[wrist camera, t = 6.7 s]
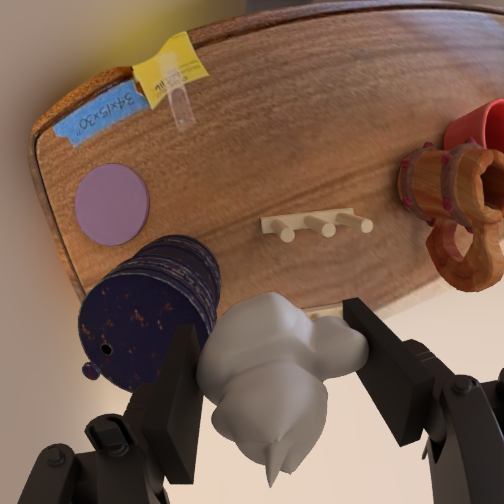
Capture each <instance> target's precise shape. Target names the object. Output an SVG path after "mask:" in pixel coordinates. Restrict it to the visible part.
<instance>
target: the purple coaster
mask: <svg viewBox="0 0 504 504" xmlns="http://www.w3.org/2000/svg"><path fill="white" fill-rule="evenodd" d="M148 213H149V195H148V191H147V188H146V185H145V183H144V182H143V180H142V179H141V177H140V176H139V175H138V174H137V173H136V172H135V171H134V170H132V169H131V168H129V167H127V166H124V165H120V164H104V165H100V166H98V167H96V168H94V169H93V170H91V171H90V172H89V173H88V174H87V175H86V176H85V177H84V178H83V179H82V181H81V183H80V184H79V186H78V189H77V192H76V196H75V214H76V218H77V221H78V224H79V226H80V227H81V229H82V231H83V232H84V233H85V234H86V235H87V236H88V237H89V238H90V239H91V240H93V241H94V242H96V243H99V244H101V245H105V246H116V245H121V244H123V243H125V242H127V241H129V240H131V239H132V238H134V237H135V236H136V235H137V234H138V233H139V232H140V231H141V229H142V228H143V226H144V224H145V222H146V220H147V217H148Z"/></svg>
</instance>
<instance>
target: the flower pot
mask: <svg viewBox="0 0 504 504" xmlns="http://www.w3.org/2000/svg"><path fill="white" fill-rule="evenodd" d="M468 137H471V138H473V139H474V140H475V142H476V144H479V145H480V146H482V147H483V148H484V149H491V150H497V151H499V152H502V153H503V154H504V99H496V100H493V101H491V102H489V103H487V104H485V105H483V106H481V107H479V108H477V109H475V110H474V111H472V112H470V113H468V114H467V115H465V116H463V117H461V118H460V119H458V120H456V121H454V122H453V123H451V124H450V125H449V126H448V128H447V130H446V132H445V135H444V150H451V149H452V148H454V147H455V146H457V145H460V144H464V142H465V141H466V139H467V138H468Z"/></svg>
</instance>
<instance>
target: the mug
mask: <svg viewBox="0 0 504 504" xmlns="http://www.w3.org/2000/svg"><path fill="white" fill-rule="evenodd" d="M401 164H402V165H401V167H400V172H399V176H398V182H397V184H398V192H399V196H400V198H401V200H402V204H403V205H404V206H405V207H406V208H407V209H408V210H409V212H410V213H411V214H412V215H413V216H415V217H417V218H419V219H422V220H424V221H426V222H427V224H428V225H429V226H431V227H434V228H433V230H432V232H431V234H430V235H429V237H428V238H427V241H426V246H427V249H428V251H429V253H430V256H431V258H432V261H433V263H434V264H435V267H436V269H437V271H438V272H439V274H440V275H441V276H442V277H443V278H444V279H445V281H446V282H448V283H449V284H450V285H451V286H453V287H455V288H456V289H457V290H460V291H464V292H475V291H476V292H479V291H482V290H484V289H486V288H489V287H491V286H493V285H494V284H496V283H497V282H498V281H500V280H501V278H502V276H503V274H504V256H503V253H502V251H501V248H500V245H499V240H498V230H499V222H500V221H501V219H502V217H503V218H504V154H503V153H502V152H499V151H497V150H491V149H484V148H483V147H482V146H480V145H479V144H476V142H475V140H474V139H473V138H471V137H468V138H467V139H466V141H465V142H464V144H460V145H457V146H455V147H454V148H452V149H451V150H443V151H441V150H439V149H437V148H435V147H434V146H433V144H432V143H430V142H426V143H425V144H424V147H423V148H421V149H418V150H416V151H414V152H412V153H411V154H410V155H409V156H408V157H407V158H404V159H403V160H402V162H401ZM457 223H458V224H460V225H462V226H464V227H465V228H466V230H467V231H468V232H469V233H472V234H473V243H472V244H471V246H470V248H469V250H468V252H467V253H466V255H465V257H463V256H462V255H461V254H460V252H459V251H458V249H457V247H456V245H455V237H454V234H455V231H456V226H457Z"/></svg>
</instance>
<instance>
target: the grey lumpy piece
mask: <svg viewBox="0 0 504 504" xmlns="http://www.w3.org/2000/svg"><path fill="white" fill-rule="evenodd" d="M368 357H369V345H368V342H367V339H366V338H365V337H364V336H363V335H362V334H361V333H359V332H358V331H356V330H354V329H351V328H350V327H349V325H348V324H347V323H346V322H345V321H344V320H343V319H341V318H340V317H337V316H331V315H330V316H324V317H320V318H318V319H316V320H314V321H311V320H310V319H309V318H308V317H307V316H306V315H305V313H304V312H303V311H302V310H300V309H299V308H297V307H295V306H294V305H293V304H291V303H290V302H289V301H288V300H287V299H286V298H284V297H283V296H281V295H280V294H278V293H275V292H267V293H263V294H260V295H257V296H254V297H251V298H248V299H245V300H242V301H240V302H237V303H236V304H234V305H233V306H231V307H230V308H229V309H228V310H227V311H226V312H225V313H224V314H223V316H222V317H221V318H220V319H219V320H218V322H217V324H216V325H215V328H214V329H213V331H212V333H211V334H210V336H209V338H208V339H207V341H206V343H205V345H204V347H203V350H202V352H201V354H200V357H199V360H198V366H197V371H196V381H197V383H198V386H199V387H200V389H201V391H202V393H203V394H204V395H205V397H207V399H209V400H210V401H211V402H212V403H213V404H215V405H216V406H217V408H216V409H215V410H214V412H213V414H212V417H211V421H212V424H213V426H214V428H215V429H216V430H217V432H218V433H219V434H221V435H222V436H224V437H225V438H227V439H229V440H231V441H233V442H235V443H236V445H237V446H238V448H239V449H240V450H241V452H242V453H243V454H244V455H245V456H246V457H248V458H249V459H250V460H252V461H254V462H255V463H258V464H262V465H265V466H266V475H267V480H268V483H269V486H270V488H271V487H272V485H273V483H274V481H275V479H276V477H277V475H278V473H279V471H282V472H285V473H289V474H291V473H292V472H293V471H295V470H296V469H297V467H298V466H299V465H300V463H301V462H302V461H303V460H304V458H305V457H306V456H307V455H308V453H309V452H310V451H311V450H312V448H313V447H314V445H315V444H316V442H317V441H318V439H319V437H320V435H321V433H322V431H323V428H324V425H325V422H326V415H327V399H328V392H327V389H326V387H325V386H324V384H323V381H324V380H326V379H329V378H335V377H340V376H344V375H347V374H350V373H352V372H355V371H357V370H359V369H360V368H362V367H363V366H364V365H365V363H366V361H367V359H368Z"/></svg>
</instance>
